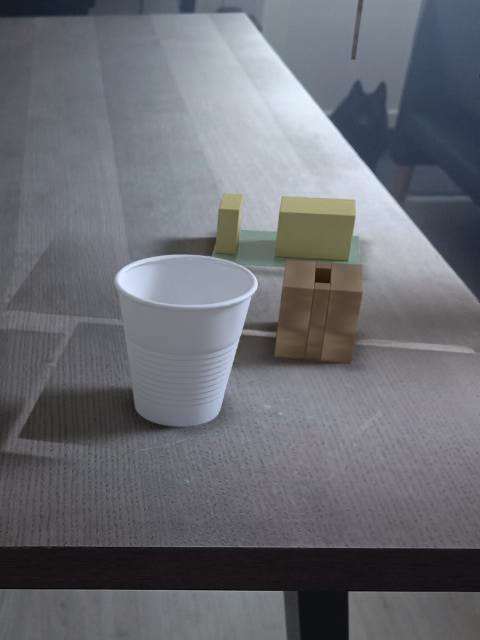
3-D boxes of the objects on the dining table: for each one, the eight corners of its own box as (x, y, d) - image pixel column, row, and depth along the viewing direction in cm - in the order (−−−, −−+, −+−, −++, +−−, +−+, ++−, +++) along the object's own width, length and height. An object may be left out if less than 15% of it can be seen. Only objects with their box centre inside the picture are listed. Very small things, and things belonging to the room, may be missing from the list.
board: (357, 250, 106) (359, 235, 106) (357, 286, 98) (360, 271, 97) (218, 242, 110) (219, 228, 109) (208, 276, 102) (209, 261, 101)
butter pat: (239, 237, 106) (243, 194, 104) (235, 254, 102) (239, 209, 100) (220, 236, 107) (223, 193, 104) (215, 253, 103) (218, 208, 100)
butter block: (349, 243, 104) (355, 199, 101) (349, 261, 100) (355, 215, 97) (277, 239, 105) (281, 195, 103) (274, 256, 101) (279, 211, 99)
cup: (267, 438, 75) (283, 295, 69) (137, 459, 73) (143, 315, 67) (210, 379, 83) (221, 247, 77) (93, 397, 81) (95, 263, 75)
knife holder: (349, 343, 88) (362, 264, 84) (349, 374, 83) (362, 292, 79) (277, 337, 89) (286, 259, 86) (273, 367, 85) (282, 286, 81)
